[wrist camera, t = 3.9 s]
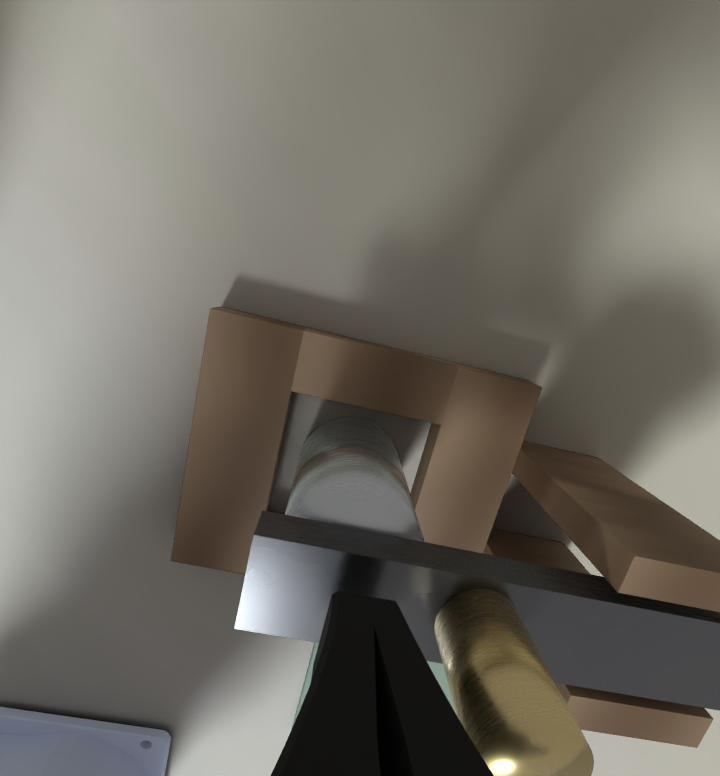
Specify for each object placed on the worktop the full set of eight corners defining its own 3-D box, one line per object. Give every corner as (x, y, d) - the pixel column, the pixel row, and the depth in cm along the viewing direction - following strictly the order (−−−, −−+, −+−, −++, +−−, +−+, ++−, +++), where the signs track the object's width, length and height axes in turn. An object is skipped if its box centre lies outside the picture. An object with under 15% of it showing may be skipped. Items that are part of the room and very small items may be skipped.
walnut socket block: (182, 542, 17) (64, 730, 10) (220, 306, 15) (103, 326, 8) (537, 608, 19) (659, 813, 11) (621, 402, 16) (840, 495, 9)
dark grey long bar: (244, 596, 10) (185, 782, 7) (262, 509, 10) (209, 655, 6) (734, 682, 12) (927, 880, 8) (775, 610, 11) (1006, 785, 7)
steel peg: (290, 497, 17) (262, 608, 11) (311, 407, 16) (292, 476, 10) (384, 516, 17) (404, 632, 12) (409, 428, 16) (444, 507, 11)
